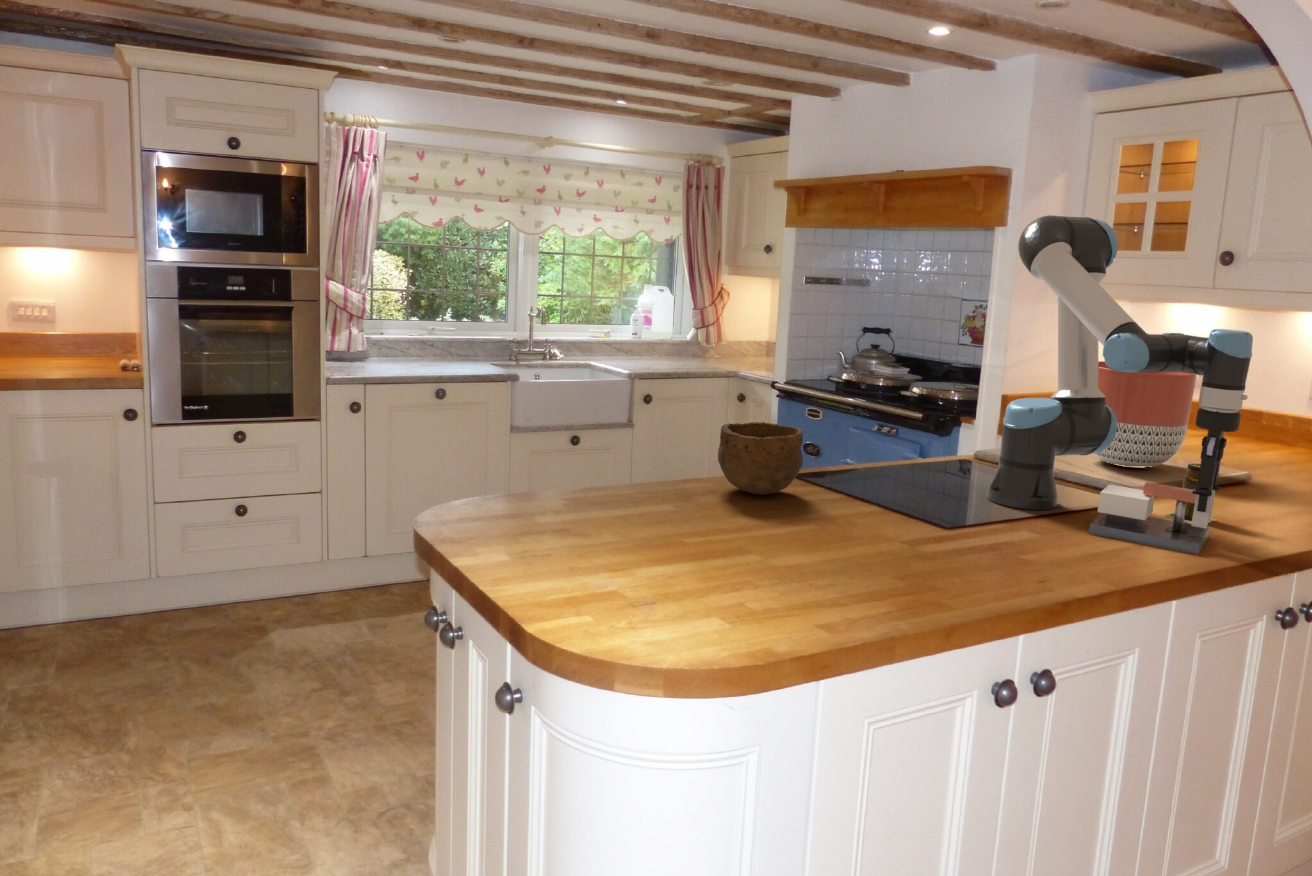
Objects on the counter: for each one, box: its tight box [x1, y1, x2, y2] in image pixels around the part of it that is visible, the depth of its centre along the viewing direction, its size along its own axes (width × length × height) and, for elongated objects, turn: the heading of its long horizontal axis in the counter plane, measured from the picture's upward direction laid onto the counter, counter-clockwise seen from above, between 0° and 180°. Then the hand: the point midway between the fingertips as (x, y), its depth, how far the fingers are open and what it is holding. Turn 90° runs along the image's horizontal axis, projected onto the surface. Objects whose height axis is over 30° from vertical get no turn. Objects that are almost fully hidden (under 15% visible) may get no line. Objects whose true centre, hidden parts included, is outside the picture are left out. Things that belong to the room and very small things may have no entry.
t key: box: [1143, 481, 1212, 531], centre depth 204 cm, size 12×2×8 cm, turn 56°
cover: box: [1097, 484, 1156, 520], centre depth 209 cm, size 9×9×4 cm
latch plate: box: [1088, 512, 1210, 556], centre depth 206 cm, size 20×16×7 cm
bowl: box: [717, 421, 804, 496], centre depth 224 cm, size 19×19×15 cm
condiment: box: [1164, 462, 1216, 524], centre depth 221 cm, size 7×8×12 cm
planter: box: [1093, 360, 1198, 467], centre depth 273 cm, size 27×27×27 cm
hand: (1200, 523), depth 201 cm, fingers open, 5 cm apart
